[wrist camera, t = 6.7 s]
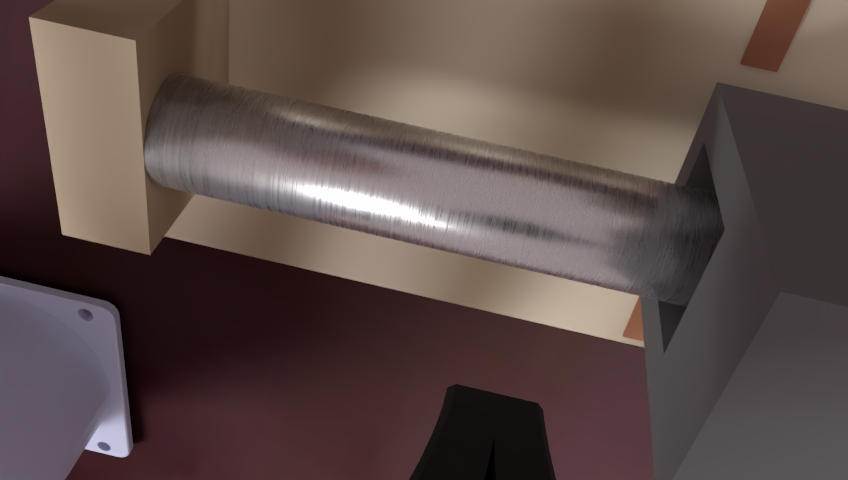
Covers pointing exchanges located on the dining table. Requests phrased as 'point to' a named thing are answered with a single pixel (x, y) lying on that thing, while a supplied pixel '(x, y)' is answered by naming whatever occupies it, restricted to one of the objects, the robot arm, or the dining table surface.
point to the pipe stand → (416, 111)
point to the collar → (759, 302)
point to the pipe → (431, 188)
